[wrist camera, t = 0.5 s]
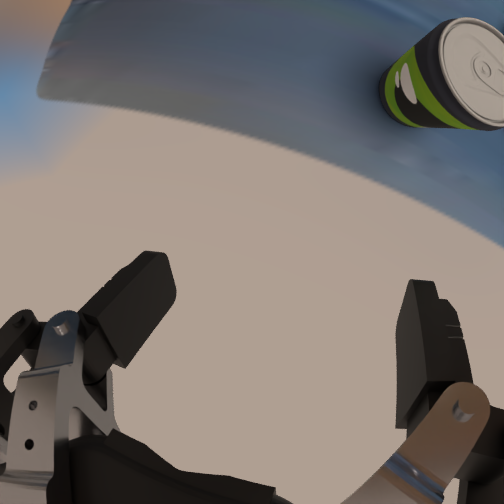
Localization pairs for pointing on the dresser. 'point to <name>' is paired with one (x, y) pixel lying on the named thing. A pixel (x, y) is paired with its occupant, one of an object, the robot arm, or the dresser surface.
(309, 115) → the dresser surface
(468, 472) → the robot arm
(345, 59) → the dresser surface
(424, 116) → the beverage can
